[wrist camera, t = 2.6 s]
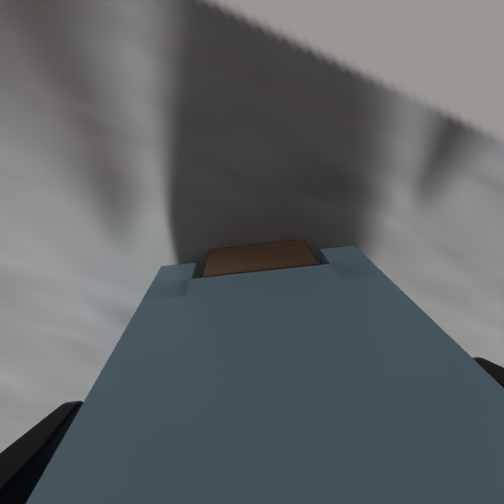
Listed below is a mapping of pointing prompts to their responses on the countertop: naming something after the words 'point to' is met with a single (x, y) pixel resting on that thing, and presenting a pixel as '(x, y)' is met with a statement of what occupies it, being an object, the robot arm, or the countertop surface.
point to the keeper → (283, 398)
